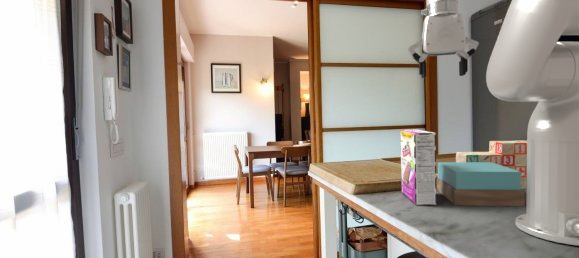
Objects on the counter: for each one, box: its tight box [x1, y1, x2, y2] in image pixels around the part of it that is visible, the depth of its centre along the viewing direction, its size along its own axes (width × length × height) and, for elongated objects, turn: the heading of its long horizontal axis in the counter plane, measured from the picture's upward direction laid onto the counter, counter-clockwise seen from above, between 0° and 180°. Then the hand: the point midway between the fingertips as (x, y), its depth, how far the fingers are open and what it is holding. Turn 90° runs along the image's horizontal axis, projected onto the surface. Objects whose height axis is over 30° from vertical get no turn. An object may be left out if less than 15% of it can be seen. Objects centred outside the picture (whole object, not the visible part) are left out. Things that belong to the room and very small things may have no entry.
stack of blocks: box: [455, 139, 527, 190], centre depth 85 cm, size 21×6×12 cm, turn 84°
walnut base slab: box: [436, 176, 526, 207], centre depth 75 cm, size 14×14×4 cm
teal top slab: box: [437, 161, 521, 190], centre depth 75 cm, size 13×13×4 cm
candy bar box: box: [399, 129, 438, 207], centre depth 74 cm, size 11×5×16 cm, turn 176°
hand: (442, 76), depth 84 cm, fingers open, 9 cm apart
